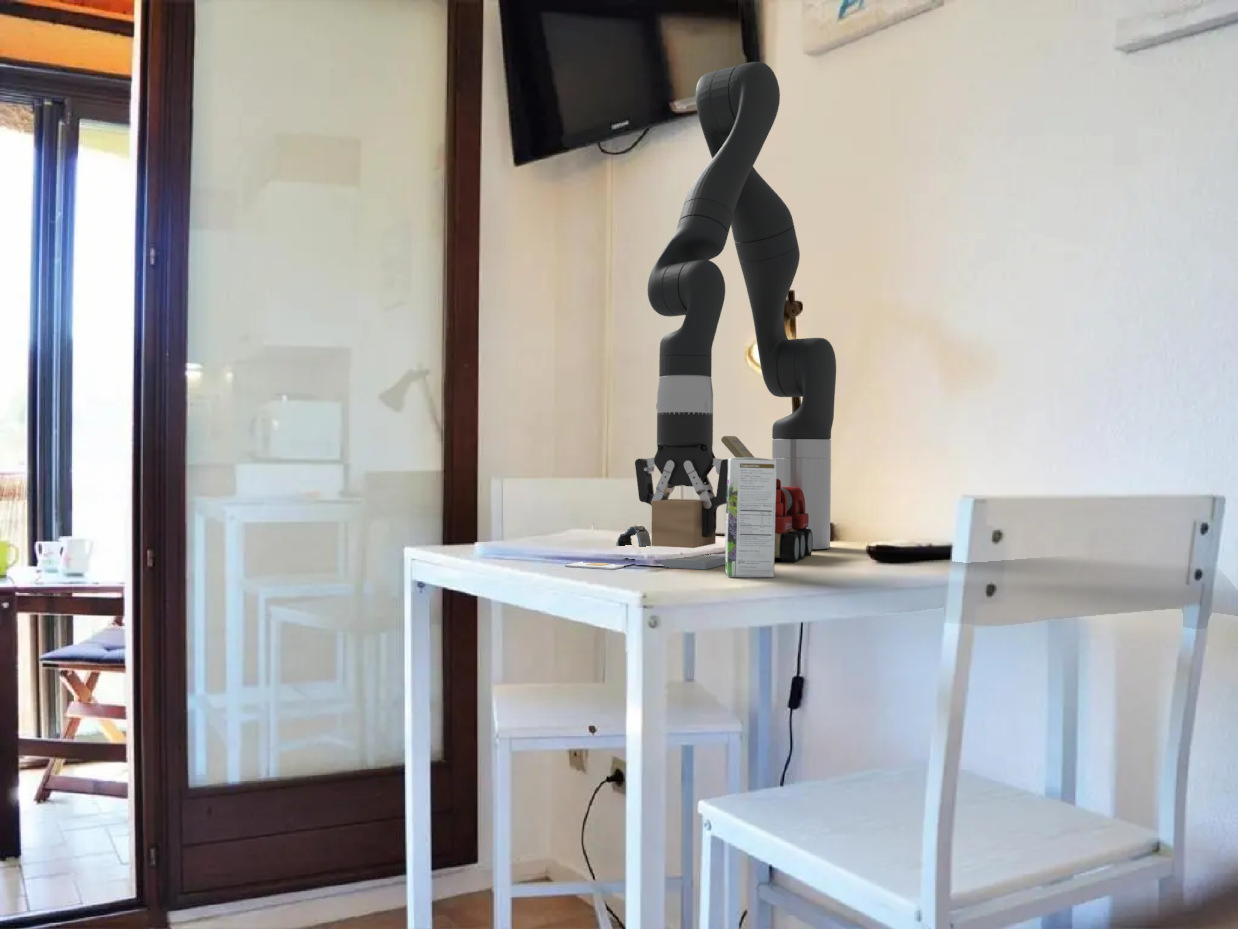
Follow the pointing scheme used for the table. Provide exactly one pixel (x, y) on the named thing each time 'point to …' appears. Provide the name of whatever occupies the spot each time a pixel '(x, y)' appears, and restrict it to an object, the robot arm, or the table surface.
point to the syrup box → (750, 517)
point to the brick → (678, 524)
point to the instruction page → (595, 565)
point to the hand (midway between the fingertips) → (683, 535)
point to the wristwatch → (641, 535)
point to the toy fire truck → (783, 514)
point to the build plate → (695, 562)
